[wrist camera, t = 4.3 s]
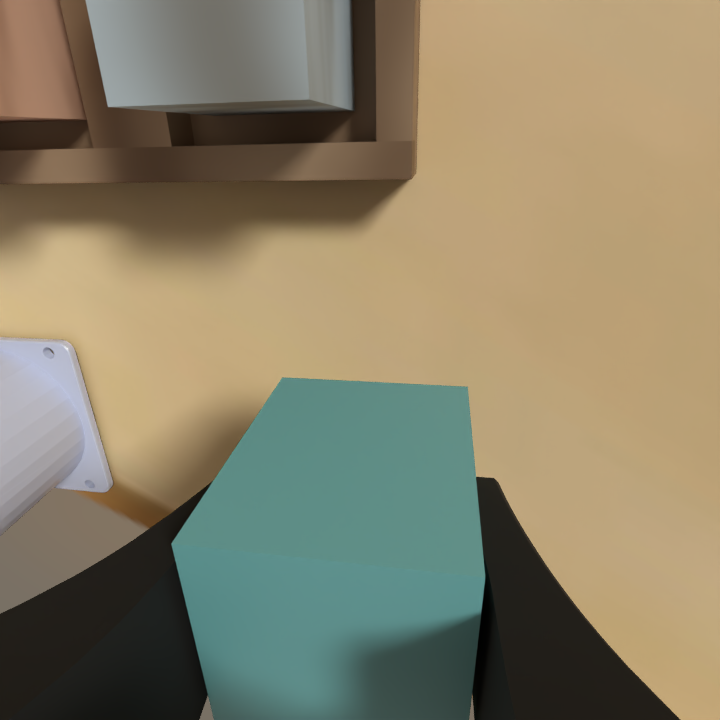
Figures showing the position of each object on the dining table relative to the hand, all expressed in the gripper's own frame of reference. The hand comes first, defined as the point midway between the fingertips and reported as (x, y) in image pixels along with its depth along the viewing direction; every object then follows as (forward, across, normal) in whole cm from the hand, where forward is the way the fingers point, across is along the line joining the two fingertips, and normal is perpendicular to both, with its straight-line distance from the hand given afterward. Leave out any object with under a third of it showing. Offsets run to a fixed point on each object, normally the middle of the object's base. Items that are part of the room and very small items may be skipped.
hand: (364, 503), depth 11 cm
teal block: (+2, 0, 0) cm, 2 cm away
